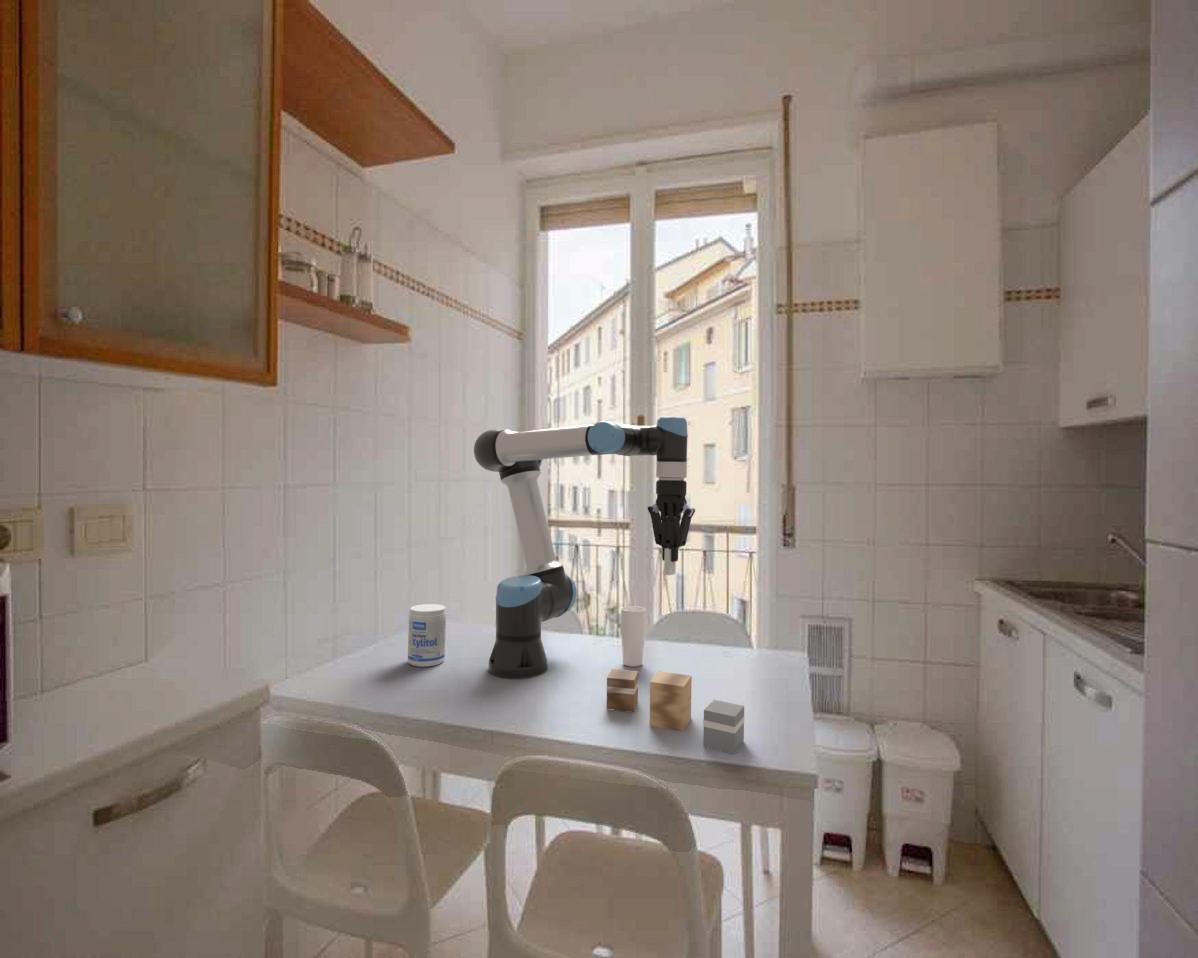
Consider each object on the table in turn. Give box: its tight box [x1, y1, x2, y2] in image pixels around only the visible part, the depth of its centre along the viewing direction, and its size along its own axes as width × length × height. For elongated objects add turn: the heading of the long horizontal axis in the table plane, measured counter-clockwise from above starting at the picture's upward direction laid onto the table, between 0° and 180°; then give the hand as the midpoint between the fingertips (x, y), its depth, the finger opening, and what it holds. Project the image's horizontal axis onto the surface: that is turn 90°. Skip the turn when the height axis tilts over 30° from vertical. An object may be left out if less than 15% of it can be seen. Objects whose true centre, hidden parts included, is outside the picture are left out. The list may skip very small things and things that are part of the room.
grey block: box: [702, 699, 745, 755], centre depth 114 cm, size 6×6×7 cm
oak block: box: [649, 671, 693, 732], centre depth 124 cm, size 7×7×9 cm
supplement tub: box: [407, 603, 447, 668], centre depth 160 cm, size 10×10×15 cm
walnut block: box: [606, 668, 639, 713], centre depth 132 cm, size 6×6×7 cm
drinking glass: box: [620, 605, 647, 668], centre depth 161 cm, size 7×7×15 cm
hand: (669, 574), depth 149 cm, fingers closed
